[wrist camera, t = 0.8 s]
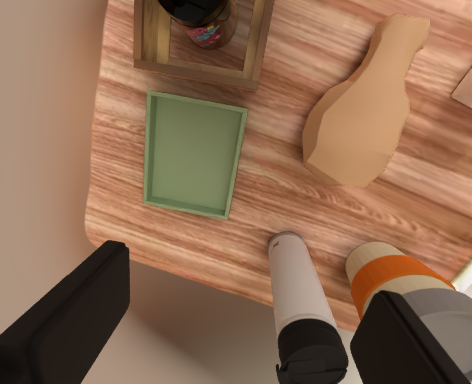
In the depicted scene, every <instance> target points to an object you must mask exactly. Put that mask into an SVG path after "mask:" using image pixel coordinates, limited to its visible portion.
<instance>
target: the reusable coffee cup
mask: <svg viewBox="0 0 472 384" xmlns="http://www.w3.org/2000/svg"><path fill="white" fill-rule="evenodd" d="M345 269H346V273H347V276H348V278H349V281H350V284H351V295H352V297H353V300H354V303H355V306H356V309H357V312H358V315H359V318H360V320H362V318H363V316H364V314H365V312H366V310H367V307H368V305H369V303H370V301H371V299H372V297H373V295H374V294H375V293H378V292H379V291H380V290H386V291H392V292H397V293H399V294H401V295H402V296H403V297H404V299H405V300H406V301H407V303H408V304H409V305H410V306H411V308H412V309H413V310H414V311H415V313H416V314H417V315H418V316H419V318H420V319H421V320H422V322H423V323H424V324H425V325H426V327H427V328H428V329H429V330H430V332H431V333H432V334H433V336H434V337H435V338H436V339H437V341H438V342H439V343H440V344H441V346H442V347H443V348H444V350H445V351H446V352H447V353H448V355H449V356H450V357H451V358H452V360H453V361H454V362H455V364H456V365H457V366H458V367H459V369H460V370H461V371H462V372H463V374H464V375H465V376H466V378H467V379H468V380H469V381H470V383H471V382H472V299H471V298H470V297H468V296H467V295H465V294H463V293H460V292H458V291H456V289H455V288H454V286H453V285H452V284H451V283H450V282H449V281H447V280H446V279H444V278H443V277H441V276H440V275H439V274H437V273H436V272H434V271H433V270H431V269H430V268H428V267H427V266H426V265H424V264H423V263H421V262H420V261H418V260H417V259H414V258H412V257H409V256H406V255H405V254H403V253H402V252H401V251H399V250H398V249H396V248H395V247H393V246H392V245H390V244H388V243H384V242H369V243H366V244H363V245H361V246H359V247H357V248H356V249H354V250H353V251H352V252H351V253H350V255H349V256H348V258H347V260H346V264H345Z"/></svg>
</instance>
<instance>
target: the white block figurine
mask: <svg viewBox="0 0 472 384" xmlns="http://www.w3.org/2000/svg"><path fill="white" fill-rule="evenodd" d="M451 97H452V98H454V99H455V100H457V101H459V102H461V103H463V104H464V105H466V106H468V107H470V108H472V68H471V69H470V71H469V72H468V73H467V75H466V76H465V77H464V79H463V80H462V81H461V83H460V84H459V85H458V87H457V88H456V89H455V91H454V92H453V93H452V95H451Z"/></svg>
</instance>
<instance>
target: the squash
mask: <svg viewBox="0 0 472 384" xmlns="http://www.w3.org/2000/svg"><path fill="white" fill-rule="evenodd" d="M429 30H430V22H429V19H427V18H419V17H412V16H407V15H403V14H398V13H396V14H394V15H391V16H389V17H387V18H386V19H384V20H383V21H381V22H379V23H378V25H377V27H376V29H375V32H374V33H373V35H372V37H371V41H370V47H369V51H368V53H367V55H366V56H365V58H364V60H363V62H362V64H361V65H360V66H359V67H358V68H357V70H356V71H355V72H354V73H353V74H352V75H351V76H350V77H349V78H348V79H347V80H346V81H344V82H342V83H340V84H338V85H336V86H334V87H332V88H330V89H329V90H328V91H327V92H326V93H325V95H324V96H323V97H322V98H321V99H320V101H319V102H318V103H317V104H316V105H315V107H314V108H313V109H312V110H311V112H310V113H309V116H308V119H307V122H306V125H305V128H304V131H303V134H302V143H303V158H304V166H305V167H306V168H307V169H309V170H310V171H311V172H312V173H313V174H315V175H316V176H317V177H318V178H320V179H321V180H322V181H323V182H324V183H326V184H327V185H328V186H336V185H347V186H353V187H358V188H364V187H366V186H367V185H368V184H369V183H370V182H371V181H373V180H374V179H375V178H376V177H377V176H378V175H380V174H381V173H382V172H383V171H384V170H385V168H386V166H387V165H388V163H389V161H390V159H391V157H392V155H393V153H394V151H395V149H396V147H397V145H398V143H399V139H400V136H401V133H402V130H403V127H404V124H405V122H406V120H407V117H408V115H409V113H410V107H409V98H408V96H407V94H406V93H405V77H406V75H407V72H408V70H409V67H410V65H411V62H412V60H413V58H414V55H415V53H416V52H418V51H419V50H421V49H423V47H424V44H425V41H426V38H427V36H428V33H429Z"/></svg>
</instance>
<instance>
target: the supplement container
mask: <svg viewBox="0 0 472 384" xmlns="http://www.w3.org/2000/svg"><path fill="white" fill-rule="evenodd" d="M158 2H159V3H160V5H161V6H162V7H163V9H164V10H165V11H166V12H167V13H168V15H169V16H170V17H171V18H172V19H173V20H175V21H176V23H177V24H178V25H179V26H180V27H181V28H182V29H183V30H184V32H185V33H186V34H187V35H188V36H189V37H190V38H191V40H192V41H193V42H194V43H196V44H197V45H198V46H200V47H202V48H205V49H216V48H219V47H221V46H223V45H225V44H226V43H227V42H228V41H229V40H230V38H231V37H232V35H233V33H234V31H235V28H236V24H237V9H236V4H235V0H158Z"/></svg>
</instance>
